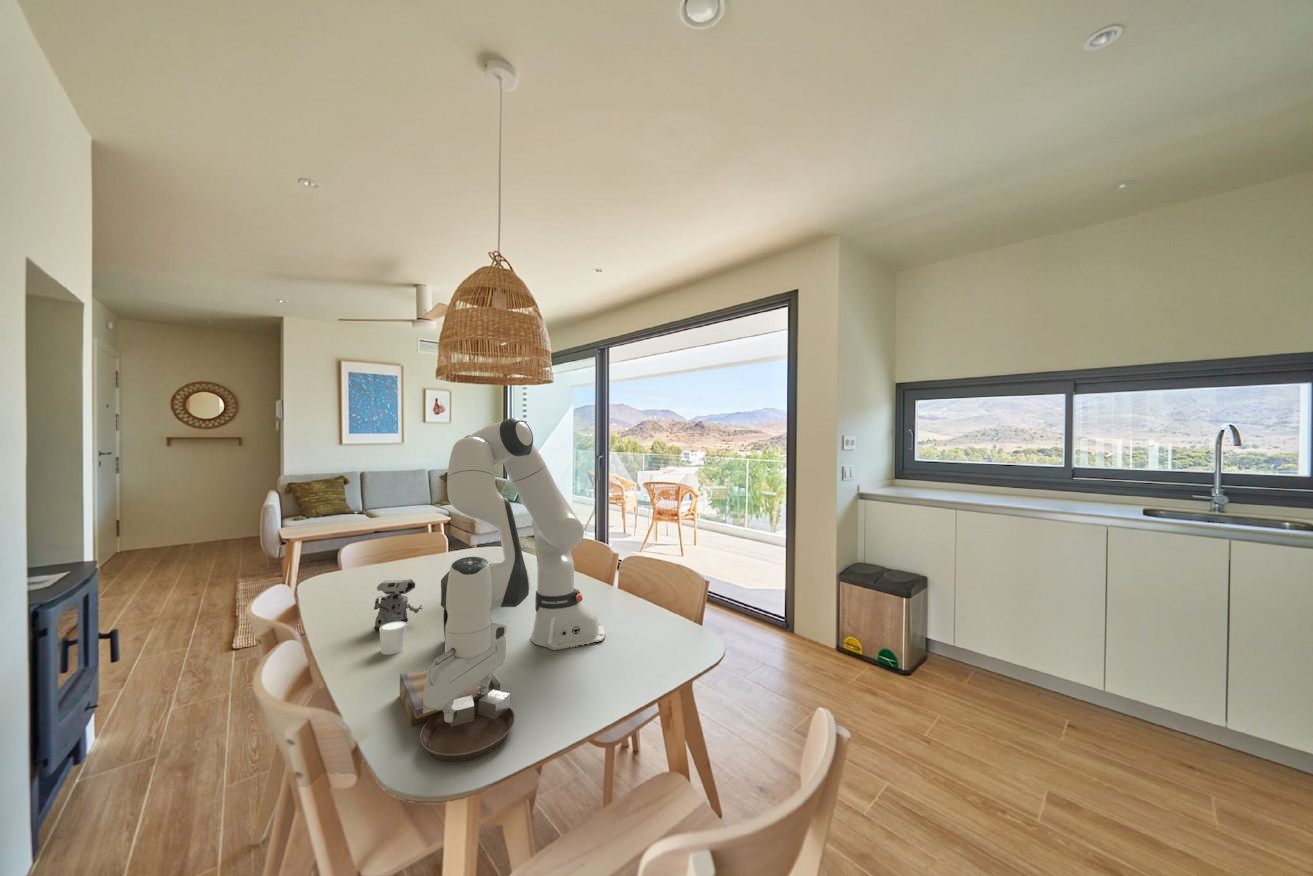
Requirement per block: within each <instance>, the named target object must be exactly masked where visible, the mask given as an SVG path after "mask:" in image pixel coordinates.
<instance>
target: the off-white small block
mask: <svg viewBox="0 0 1313 876" xmlns="http://www.w3.org/2000/svg"><path fill="white" fill-rule="evenodd" d="M451 707H452V709H453V710H457V718H456V719H455V720H454V721H452V722H451V723H450V725H451V727H452V726H456V725H459V724H463V723H467V722H471V721H474V702H473V698H472V695H471V696H467V697H463V698H458V699H455V700H454V704H453V705H452V706H451Z"/></svg>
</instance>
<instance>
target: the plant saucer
mask: <svg viewBox="0 0 1313 876" xmlns="http://www.w3.org/2000/svg"><path fill="white" fill-rule="evenodd" d="M479 700H480V699H478V700H473V702H474V721H471V722H467V723H463V724H459V725H456V726H452V727H451V725H450V723H448V722H445V721H444V712H443V711H440V712H438V713H437V714H435V715H434V716H433V717H431V718H430V719H429V720H427V721H425V724H424V725H423V726H422V729H421V731H420V734H419V740H420V743H421V745H422V746H423V748H424V749H425V751H427V752H428V753H429V754H431V755H432V756H433V757H435V758H436V759H439V760H441V761H446V762H463V761H468V760H473V759H476V758H479V757H482V756H484V755H486V754H488V753H489V752H491V751H492V750H494V749H495V748H497V747H498V746H499V745H500V744H501V743H502V742H503V741H504V739H505V738H506V737H507V735H509V733H510V731H511V730H512V728H513V726H514V724H515V720H516V717H515V712H514V711H513V710H514V709H512V707H510V708H508V709H507V710H506V711H505V712H504V713H502V714H501V715H500V716H499V717H498V718H496V719H493V718H490V717H486V716H483V715H479Z"/></svg>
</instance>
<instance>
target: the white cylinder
mask: <svg viewBox="0 0 1313 876" xmlns="http://www.w3.org/2000/svg"><path fill="white" fill-rule="evenodd" d="M407 626H408V623H407V622H403V621H396V622H390V623H386V624H384V625H382V626H380V628H379V631H378V632H379V641H380V652H381V654H382V655H386V656H387V655H388V656H390V655H396V654H399V653H400V652H402V651H404V649H405V644H406V637H407V636H406V635H407V628H408V627H407Z"/></svg>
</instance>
